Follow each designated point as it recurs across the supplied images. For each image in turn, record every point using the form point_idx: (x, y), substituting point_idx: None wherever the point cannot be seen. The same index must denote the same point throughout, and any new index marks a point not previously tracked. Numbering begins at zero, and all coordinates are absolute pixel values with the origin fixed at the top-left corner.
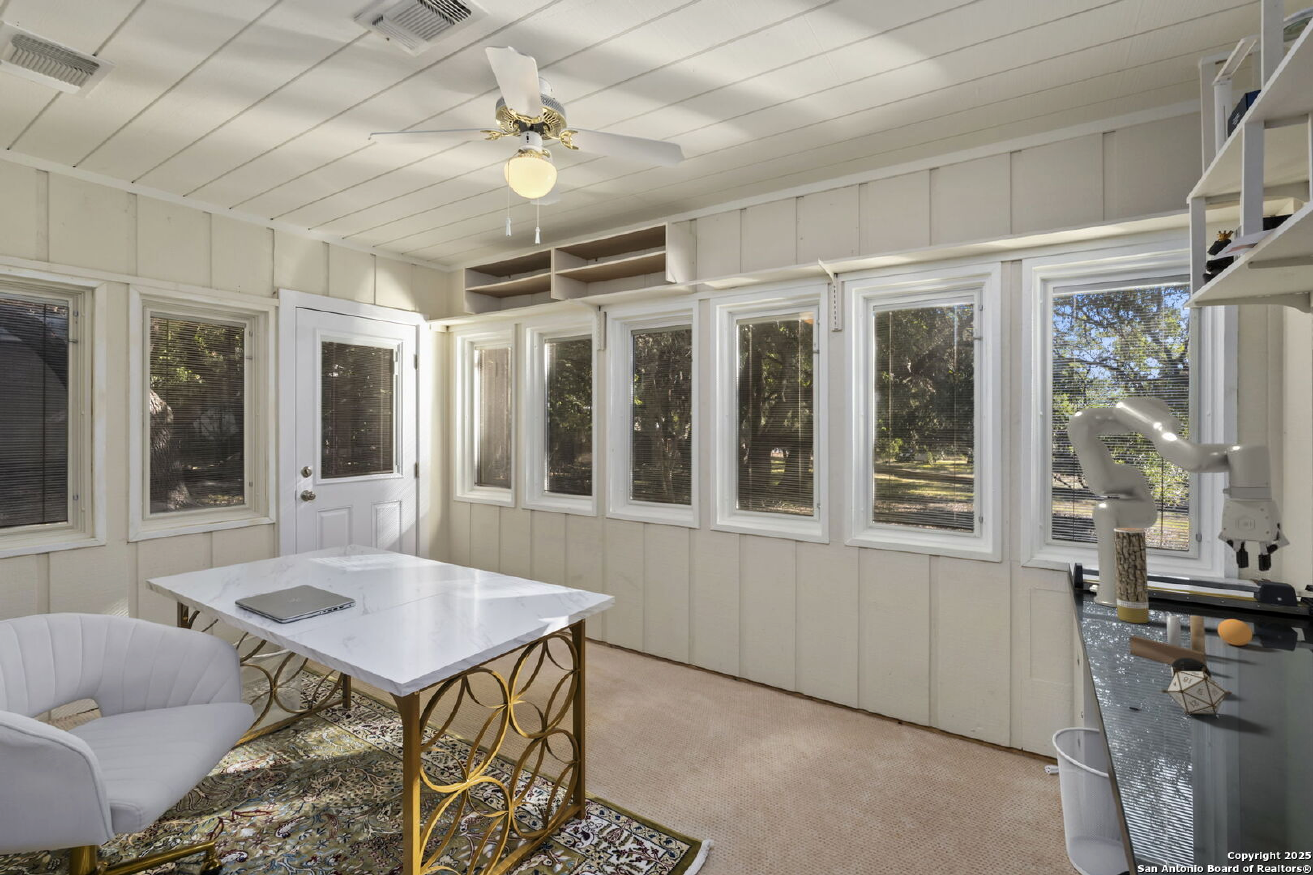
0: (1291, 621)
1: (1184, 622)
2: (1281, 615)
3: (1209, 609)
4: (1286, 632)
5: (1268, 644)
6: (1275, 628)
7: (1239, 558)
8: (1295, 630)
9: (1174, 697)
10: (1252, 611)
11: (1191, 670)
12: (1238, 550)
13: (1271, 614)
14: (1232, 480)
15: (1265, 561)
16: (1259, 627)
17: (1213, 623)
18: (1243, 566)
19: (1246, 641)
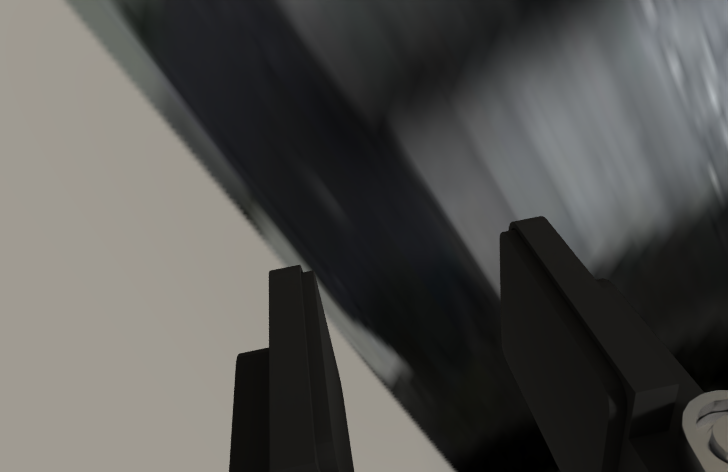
0: (452, 425)
1: (676, 25)
2: (510, 458)
3: (689, 335)
4: (363, 287)
5: (240, 7)
6: (418, 303)
7: (588, 303)
8: (371, 339)
9: None
10: None
11: None
12: (689, 425)
13: (533, 445)
14: None
15: (257, 407)
16: (454, 263)
17: (585, 147)
18: (505, 263)
19: None
